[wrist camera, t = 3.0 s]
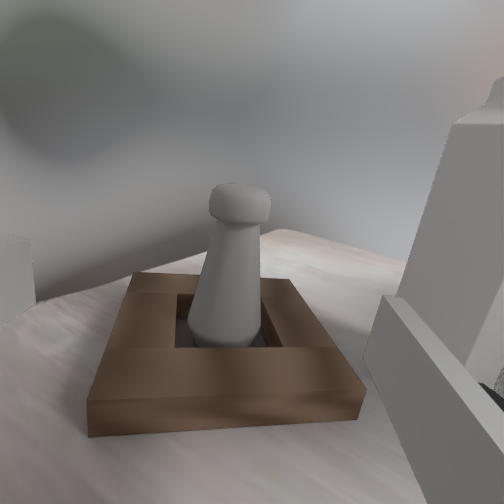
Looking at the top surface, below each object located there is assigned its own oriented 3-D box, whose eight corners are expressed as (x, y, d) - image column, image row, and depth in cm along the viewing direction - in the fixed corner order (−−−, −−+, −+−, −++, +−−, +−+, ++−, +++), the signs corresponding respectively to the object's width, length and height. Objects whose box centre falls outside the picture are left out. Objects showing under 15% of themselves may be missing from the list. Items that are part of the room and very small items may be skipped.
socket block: (285, 299, 35) (289, 279, 34) (356, 419, 20) (367, 389, 20) (133, 294, 31) (133, 271, 31) (88, 437, 17) (86, 400, 16)
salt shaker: (174, 358, 23) (187, 183, 19) (197, 319, 29) (211, 175, 25) (251, 375, 23) (281, 198, 19) (260, 332, 28) (285, 187, 24)
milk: (440, 423, 21) (606, 48, 14) (371, 365, 26) (467, 65, 19) (488, 400, 24) (647, 78, 17) (418, 351, 29) (517, 86, 22)
